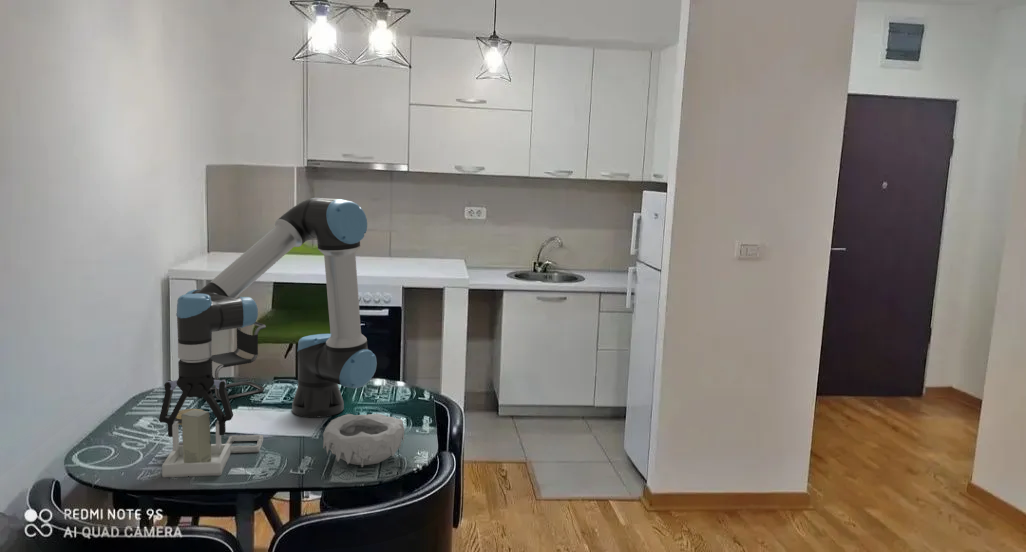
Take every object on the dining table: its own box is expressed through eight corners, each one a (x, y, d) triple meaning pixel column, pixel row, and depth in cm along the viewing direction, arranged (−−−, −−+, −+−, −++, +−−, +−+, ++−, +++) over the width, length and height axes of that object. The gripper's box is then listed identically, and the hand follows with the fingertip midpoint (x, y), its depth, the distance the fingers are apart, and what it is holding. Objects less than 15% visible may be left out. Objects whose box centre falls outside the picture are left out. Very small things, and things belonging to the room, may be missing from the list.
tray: (230, 454, 194) (230, 443, 194) (220, 475, 182) (220, 463, 181) (176, 456, 192) (175, 445, 192) (162, 477, 179) (162, 465, 179)
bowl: (410, 472, 187) (411, 433, 186) (324, 479, 182) (324, 439, 180) (398, 442, 207) (399, 407, 206) (321, 448, 201) (321, 411, 200)
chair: (268, 391, 248) (267, 325, 245) (216, 402, 235) (214, 332, 232) (249, 382, 257) (248, 318, 253) (198, 392, 244) (196, 325, 241)
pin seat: (263, 440, 205) (263, 434, 205) (258, 452, 197) (258, 446, 197) (230, 441, 204) (229, 435, 203) (224, 453, 195) (224, 447, 195)
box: (212, 461, 188) (211, 411, 186) (199, 468, 184) (198, 417, 182) (194, 458, 190) (193, 408, 188) (181, 464, 186) (180, 413, 184)
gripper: (245, 354, 189) (246, 441, 192) (150, 355, 185) (153, 444, 188) (240, 362, 181) (241, 452, 185) (141, 363, 177) (145, 455, 181)
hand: (197, 448), depth 186 cm, fingers open, 9 cm apart
